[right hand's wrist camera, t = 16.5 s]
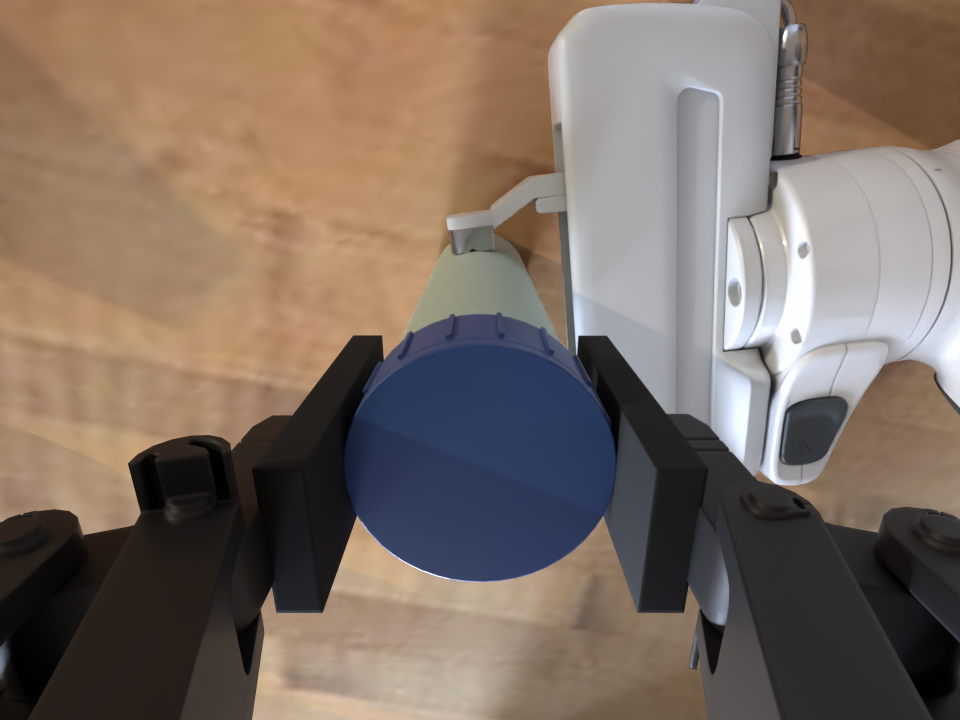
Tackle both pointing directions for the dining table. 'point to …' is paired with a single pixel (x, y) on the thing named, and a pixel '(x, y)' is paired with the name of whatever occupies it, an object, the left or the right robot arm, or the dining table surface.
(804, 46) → the left robot arm
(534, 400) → the lid
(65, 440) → the dining table surface
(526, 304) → the bottle
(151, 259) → the dining table surface
